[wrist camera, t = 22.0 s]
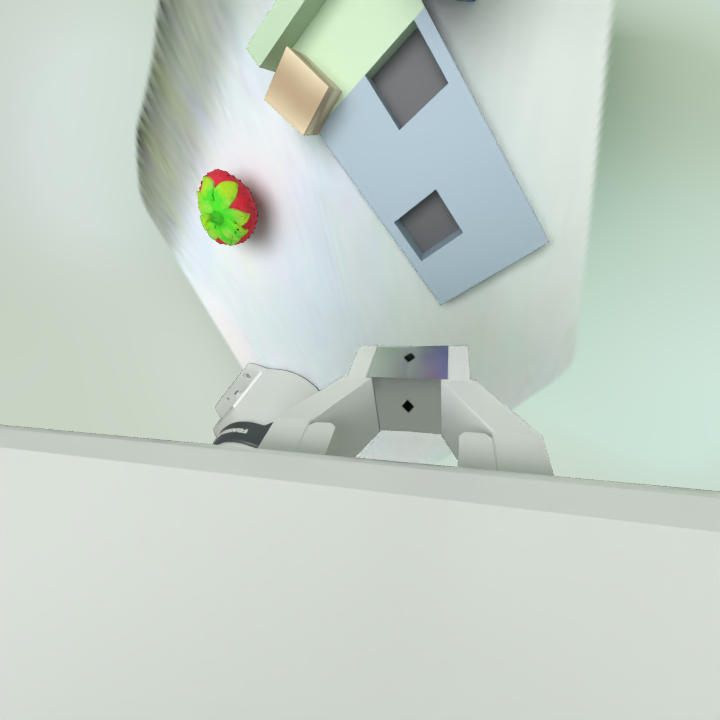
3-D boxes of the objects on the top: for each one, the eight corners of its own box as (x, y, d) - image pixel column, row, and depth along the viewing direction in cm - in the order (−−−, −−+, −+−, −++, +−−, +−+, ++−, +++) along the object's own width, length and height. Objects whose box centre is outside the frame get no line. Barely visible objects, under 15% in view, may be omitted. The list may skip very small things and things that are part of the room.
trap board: (441, 294, 41) (439, 317, 36) (277, 60, 31) (245, 48, 27) (542, 234, 34) (556, 251, 30) (375, -80, 25) (357, -128, 20)
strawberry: (271, 168, 37) (221, 180, 29) (274, 236, 41) (230, 263, 33) (223, 160, 37) (161, 169, 29) (230, 228, 42) (178, 252, 34)
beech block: (318, 134, 31) (303, 135, 28) (283, 102, 31) (263, 99, 27) (342, 91, 29) (328, 86, 26) (305, 55, 28) (286, 45, 25)
